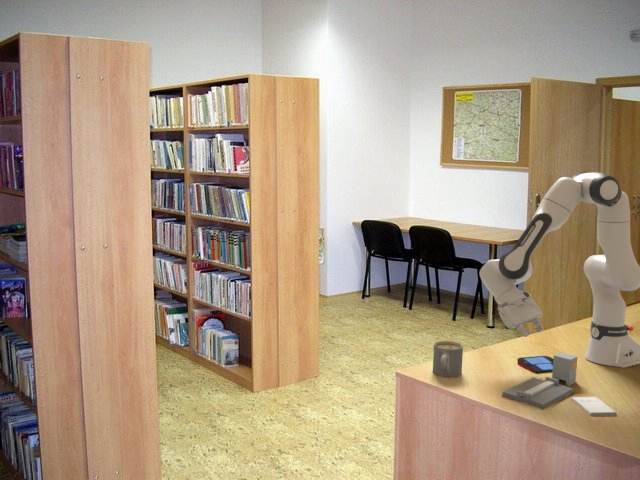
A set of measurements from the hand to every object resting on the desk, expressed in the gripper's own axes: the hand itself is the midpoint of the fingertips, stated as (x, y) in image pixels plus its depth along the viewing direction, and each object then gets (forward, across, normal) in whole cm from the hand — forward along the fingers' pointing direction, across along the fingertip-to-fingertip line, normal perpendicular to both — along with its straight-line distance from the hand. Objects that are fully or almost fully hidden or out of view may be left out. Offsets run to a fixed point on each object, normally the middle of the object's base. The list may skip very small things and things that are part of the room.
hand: (534, 333), depth 236 cm
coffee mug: (-4, -24, +24) cm, 35 cm away
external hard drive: (+31, -15, -10) cm, 36 cm away
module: (+18, 0, +2) cm, 18 cm away
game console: (+10, +9, +11) cm, 18 cm away
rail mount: (+18, -18, +2) cm, 26 cm away
